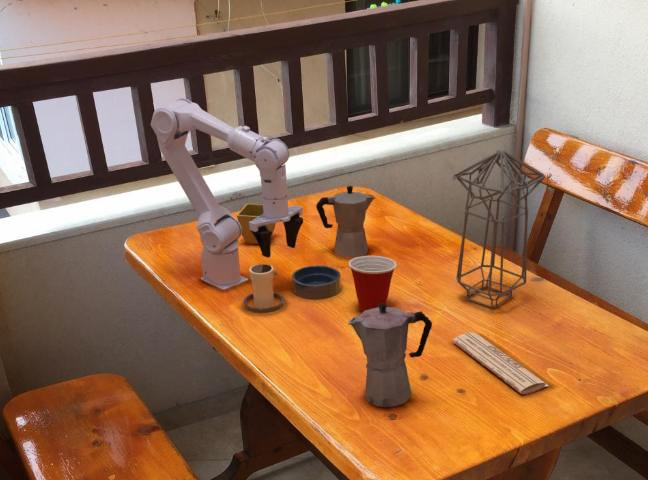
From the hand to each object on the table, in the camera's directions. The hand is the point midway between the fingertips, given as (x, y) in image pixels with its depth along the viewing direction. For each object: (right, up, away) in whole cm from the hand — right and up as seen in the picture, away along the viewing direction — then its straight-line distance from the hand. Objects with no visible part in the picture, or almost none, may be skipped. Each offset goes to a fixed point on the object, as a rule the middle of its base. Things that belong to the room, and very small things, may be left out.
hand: (278, 251), depth 202 cm
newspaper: (+47, -27, -25) cm, 60 cm away
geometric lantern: (+50, -11, 0) cm, 51 cm away
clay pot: (-3, -12, -1) cm, 13 cm away
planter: (+9, -9, +6) cm, 13 cm away
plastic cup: (+22, -14, -3) cm, 26 cm away
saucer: (-3, -13, -1) cm, 13 cm away
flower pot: (-8, +8, +32) cm, 34 cm away
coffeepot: (+16, +3, +25) cm, 30 cm away
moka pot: (+25, -34, -35) cm, 54 cm away
